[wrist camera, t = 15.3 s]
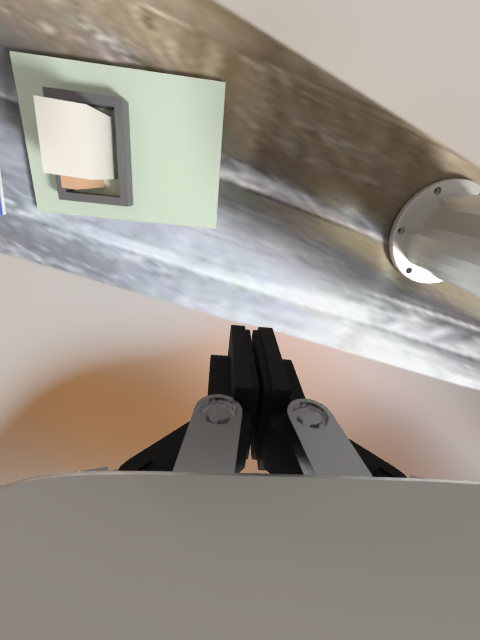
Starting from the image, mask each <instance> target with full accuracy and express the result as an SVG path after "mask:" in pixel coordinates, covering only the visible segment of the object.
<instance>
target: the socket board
mask: <svg viewBox="0 0 480 640" xmlns="http://www.w3.org/2000/svg"><path fill="white" fill-rule="evenodd" d="M9 52H10V58H11V63H12V69H13V74H14V80H15V85H16V91H17V96H18V102H19V108H20V113H21V119H22V124H23V130H24V135H25V141H26V146H27V152H28V158H29V163H30V169H31V174H32V180H33V185H34V191H35V196H36V202H37V208H38V211H42V212H52V213H62V214H72V215H82V216H92V217H102V218H112V219H122V220H132V221H142V222H152V223H162V224H172V225H182V226H192V227H202V228H212V229H216V220H217V205H218V190H219V175H220V160H221V145H222V131H223V116H224V101H225V86H226V82H220V81H213V80H207V79H200V78H193V77H186V76H179V75H172V74H165V73H158V72H151V71H145V70H138V69H131V68H124V67H117V66H110V65H103V64H96V63H89V62H82V61H76V60H69V59H62V58H55V57H48V56H41V55H34V54H27V53H20V52H14V51H9ZM33 95H35V96H41V97H47V98H53V99H58V100H64V101H70V102H76V103H81V104H87V105H89V106H90V107H92V108H94V109H96V110H98V111H100V112H102V113H104V114H106V115H107V116H109V117H111V118H113V119H115V128H116V155H117V179H105V180H104V186H105V187H102V188H90V189H78V190H75V189H68V188H62V186H61V177H60V175H56V174H49V173H43V167H42V159H41V151H40V144H39V136H38V128H37V121H36V113H35V105H34V98H33Z"/></svg>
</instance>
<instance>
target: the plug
mask: <svg viewBox="0 0 480 640" xmlns="http://www.w3.org/2000/svg"><path fill="white" fill-rule="evenodd" d="M33 98H34V105H35V113H36V121H37V128H38V136H39V144H40V151H41V159H42V167H43V173H49V174H56V175H60V177H61V186H62V188H68V189H75V190H78V189H90V188H102V187H105V186H104V180H105V179H117V155H116V128H115V119H113V118H111V117H109V116H107V115H106V114H104V113H102V112H100V111H98V110H96V109H94V108H92V107H90V106H89V105H87V104H81V103H76V102H70V101H64V100H58V99H53V98H47V97H41V96H35V95H33Z"/></svg>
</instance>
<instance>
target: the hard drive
mask: <svg viewBox="0 0 480 640" xmlns="http://www.w3.org/2000/svg"><path fill="white" fill-rule="evenodd" d="M0 215H6V210H5V203H4V195H3V188H2V180H1V173H0Z"/></svg>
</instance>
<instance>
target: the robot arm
mask: <svg viewBox="0 0 480 640" xmlns="http://www.w3.org/2000/svg"><path fill="white" fill-rule="evenodd" d="M398 229H399V231H398ZM389 253H390V257H391V260H392V262H393V265H394V266H395V268H396V269H397V270H398V271H399V272H400V273H401V274H402V275H404V276H405V277H407V278H409V279H410V280H412V281H416V282H419V283H437V282H441V281H444V282H446V283H449V284H451V285H453V286H455V287H457V288H459V289H461V290H463V291H465V292H468V293H470V294H472V295H474V296H476V297H478V298H480V184H478V183H476V182H474V181H471V180H467V179H446V180H442V181H439V182H435V183H433V184H431V185H429V186H427V187H425V188H423V189H422V190H420V191H419V192H418V193H416V194H415V195H414V196H413V197H412V198H411V199H410V200H409V201H408V202H407V203H406V204H405V205H404V207H403V208H402V209H401V211H400V212H399V214H398V216H397V217H396V219H395V221H394V224H393V226H392V229H391V232H390V238H389ZM250 446H251V456H252V459H254V460H255V459H256V460H257V463H258V470H267V471H268V472H269V473H270V474H262V473H260V474H259V473H239V472H240V471H241V470H243V469H244V468H245V461H246V459H248V455H249V449H250ZM0 640H480V482H474V481H461V480H442V479H425V478H420V477H416V476H412V475H411V476H410V478H407V477H406V476H405V475H404V474H403V473H402V472H400V471H399V470H398V469H396V468H395V467H393V466H392V465H390V464H389V463H387V462H385V461H384V460H382V459H380V458H379V457H377V456H376V455H374V454H372V453H371V452H369V451H368V450H366V449H364V448H363V447H361V446H360V445H358V444H356V443H354V442H353V441H352V440H350V439H348V438H347V436H346V435H345V433H344V431H343V430H342V428H341V427H340V425H339V424H338V422H337V421H336V419H335V418H334V416H333V414H332V413H331V412H330V411H329V410H328V408H327V407H325V406H324V405H323V404H321V403H318V402H317V401H314V400H310V399H305V396H304V394H303V391H302V388H301V386H300V383H299V380H298V377H297V375H296V372H295V369H294V366H293V364H292V361H291V360H285V359H284V360H283V359H282V357H281V354H280V351H279V348H278V345H277V342H276V338H275V335H274V332H273V329H272V328H265V327H258V330H253V334H252V341H251V335H250V330H245V326H237V325H231V331H230V340H229V350H228V356H222V355H211V359H210V372H209V385H208V396H206V397H203V398H202V399H201V400H199V401H198V402H197V404H196V406H195V408H194V411H193V414H192V417H191V420H190V421H189V422H188V423H187V424H184V425H183V426H181V427H180V428H178V429H177V430H175V431H173V432H172V433H170V434H169V435H167V436H165V437H164V438H162V439H161V440H159V441H157V442H156V443H155V444H153V445H151V446H150V447H148V448H146V449H145V450H143V451H142V452H140V453H138V454H137V455H135V456H134V457H132V458H130V459H129V460H128V461H126V462H125V463H124V464H123V465H121V467H120V468H119V469H116V470H111V471H108V467H103V468H97V469H91V470H85V471H79V472H78V471H76V472H65V473H55V474H47V475H42V476H36V477H31V478H26V479H21V480H18V481H15V482H11V483H7V484H4V485H0Z"/></svg>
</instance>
